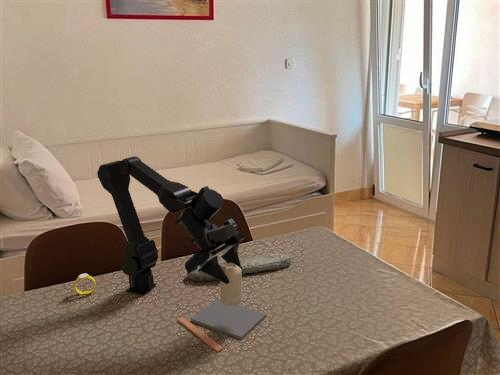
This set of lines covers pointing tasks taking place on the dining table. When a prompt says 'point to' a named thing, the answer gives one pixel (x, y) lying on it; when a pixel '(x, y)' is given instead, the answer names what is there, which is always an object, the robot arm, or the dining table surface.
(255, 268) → the long grey stone
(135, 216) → the robot arm
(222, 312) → the mat
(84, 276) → the gold diamond ring
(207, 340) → the orange curved strip
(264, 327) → the dining table surface
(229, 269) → the candle
